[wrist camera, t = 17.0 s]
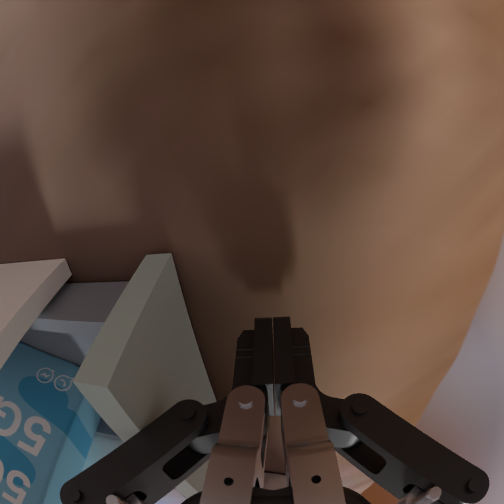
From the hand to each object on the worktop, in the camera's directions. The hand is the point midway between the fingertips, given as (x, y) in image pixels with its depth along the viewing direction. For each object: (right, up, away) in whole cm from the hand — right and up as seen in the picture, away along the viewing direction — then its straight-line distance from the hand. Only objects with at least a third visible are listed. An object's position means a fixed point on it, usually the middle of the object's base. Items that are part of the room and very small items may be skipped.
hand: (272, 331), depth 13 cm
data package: (-17, -5, +4) cm, 18 cm away
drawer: (-14, -4, +4) cm, 15 cm away
